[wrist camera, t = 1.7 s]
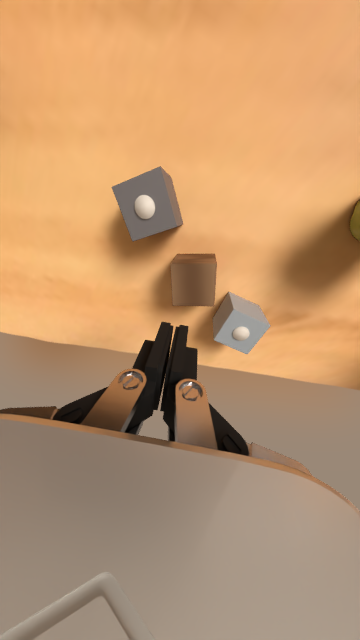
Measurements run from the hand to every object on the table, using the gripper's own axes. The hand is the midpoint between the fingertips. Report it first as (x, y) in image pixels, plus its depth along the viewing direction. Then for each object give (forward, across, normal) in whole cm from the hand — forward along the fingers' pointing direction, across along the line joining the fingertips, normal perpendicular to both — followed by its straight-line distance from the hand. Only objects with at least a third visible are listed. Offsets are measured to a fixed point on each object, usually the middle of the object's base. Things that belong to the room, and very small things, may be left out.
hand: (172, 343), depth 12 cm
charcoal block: (+17, +5, -7) cm, 19 cm away
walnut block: (+17, -1, 0) cm, 17 cm away
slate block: (+17, -8, +5) cm, 20 cm away
